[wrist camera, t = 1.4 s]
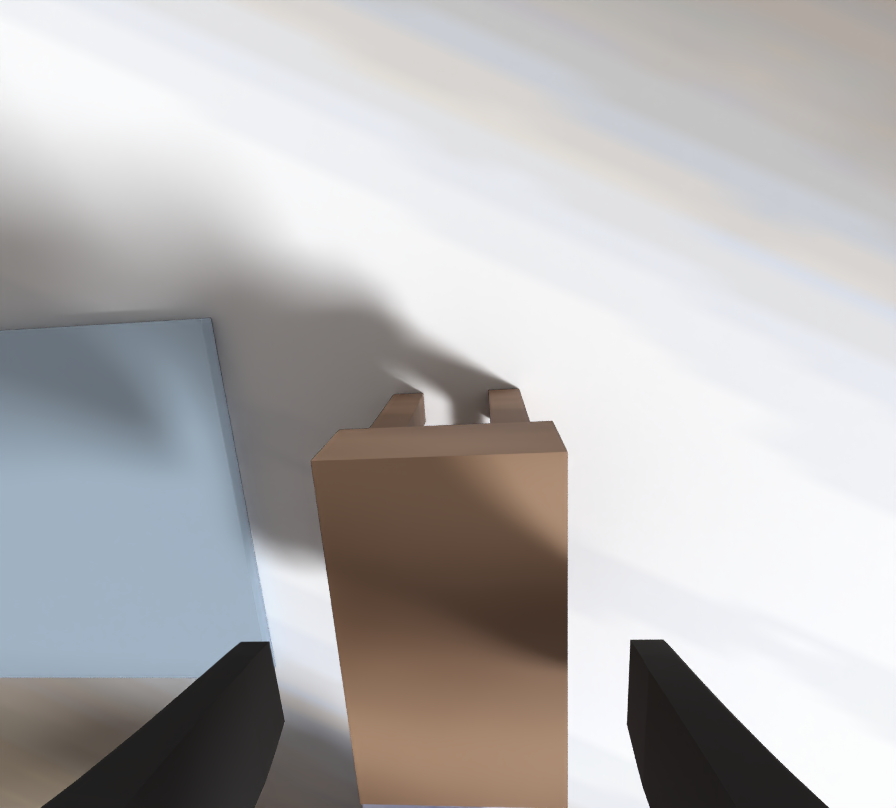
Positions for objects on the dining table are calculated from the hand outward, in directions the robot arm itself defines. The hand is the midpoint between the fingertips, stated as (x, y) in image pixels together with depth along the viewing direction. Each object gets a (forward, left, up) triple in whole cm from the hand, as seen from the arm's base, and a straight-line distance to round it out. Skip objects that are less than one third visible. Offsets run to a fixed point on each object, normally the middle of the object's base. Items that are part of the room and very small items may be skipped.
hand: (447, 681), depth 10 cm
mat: (0, +15, -8) cm, 17 cm away
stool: (0, 0, -8) cm, 8 cm away
